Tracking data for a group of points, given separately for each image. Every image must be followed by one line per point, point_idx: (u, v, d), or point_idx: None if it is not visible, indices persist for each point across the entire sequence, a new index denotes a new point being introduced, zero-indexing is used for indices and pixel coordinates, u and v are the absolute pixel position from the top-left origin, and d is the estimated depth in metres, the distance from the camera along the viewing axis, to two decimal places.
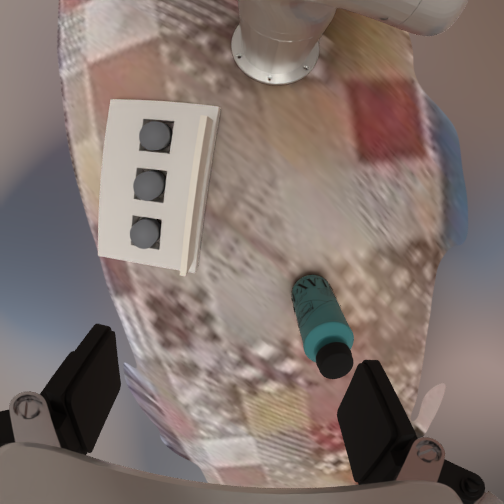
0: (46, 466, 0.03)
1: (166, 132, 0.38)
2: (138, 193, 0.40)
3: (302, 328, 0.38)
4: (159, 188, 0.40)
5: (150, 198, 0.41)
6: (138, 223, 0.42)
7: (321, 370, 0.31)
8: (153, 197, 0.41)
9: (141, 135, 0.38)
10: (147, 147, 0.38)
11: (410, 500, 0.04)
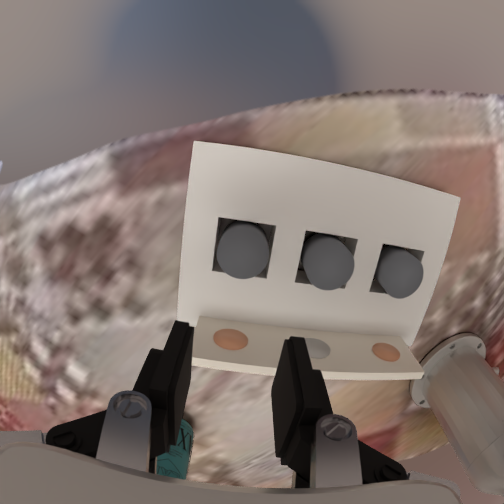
0: (46, 465, 0.03)
1: (403, 296, 0.25)
2: (320, 252, 0.24)
3: None
4: (324, 288, 0.25)
5: (309, 273, 0.24)
6: (265, 248, 0.24)
7: None
8: (310, 278, 0.25)
9: (408, 259, 0.24)
10: (390, 269, 0.24)
11: (410, 500, 0.04)
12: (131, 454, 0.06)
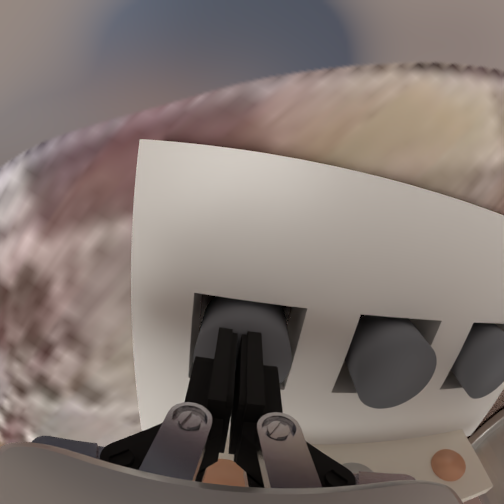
0: (45, 465, 0.03)
1: (484, 393, 0.13)
2: (386, 357, 0.12)
3: None
4: (382, 406, 0.13)
5: (362, 390, 0.12)
6: (286, 353, 0.12)
7: None
8: (363, 396, 0.12)
9: None
10: (481, 365, 0.12)
11: (410, 500, 0.04)
12: (179, 467, 0.06)
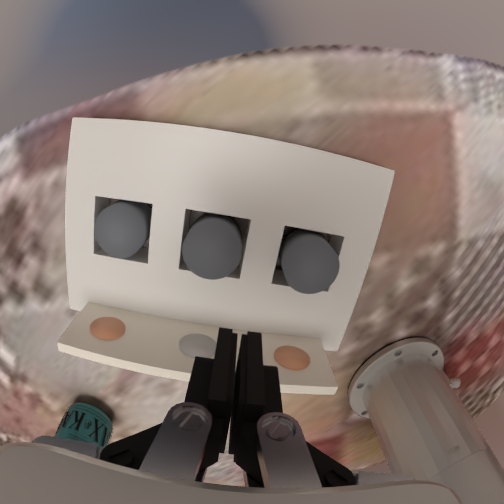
0: (46, 465, 0.03)
1: (313, 291, 0.22)
2: (197, 234, 0.20)
3: None
4: (207, 277, 0.22)
5: (187, 258, 0.21)
6: (139, 225, 0.21)
7: None
8: (189, 264, 0.21)
9: (316, 246, 0.21)
10: (290, 257, 0.21)
11: (410, 500, 0.04)
12: (179, 467, 0.06)
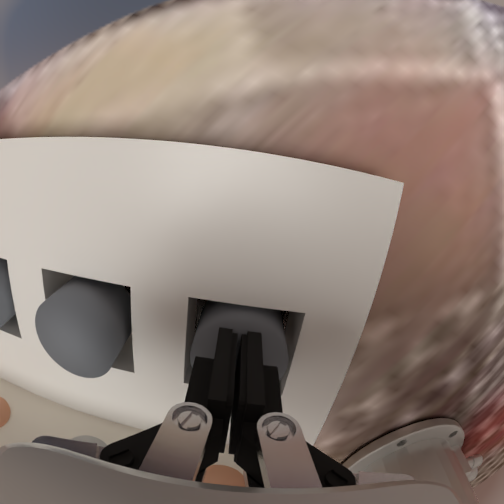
0: (46, 465, 0.03)
1: None
2: (47, 312, 0.11)
3: None
4: (77, 373, 0.12)
5: (46, 345, 0.11)
6: None
7: None
8: (51, 353, 0.11)
9: (241, 327, 0.12)
10: (198, 345, 0.12)
11: (410, 500, 0.04)
12: (179, 467, 0.06)
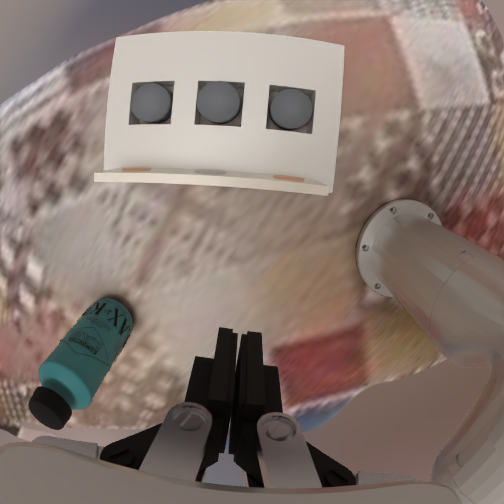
0: (46, 465, 0.03)
1: (296, 126, 0.28)
2: (207, 89, 0.26)
3: (68, 348, 0.25)
4: (215, 119, 0.27)
5: (200, 107, 0.27)
6: (165, 94, 0.27)
7: (33, 402, 0.19)
8: (202, 112, 0.27)
9: (292, 92, 0.27)
10: (275, 101, 0.27)
11: (410, 500, 0.04)
12: (179, 467, 0.06)
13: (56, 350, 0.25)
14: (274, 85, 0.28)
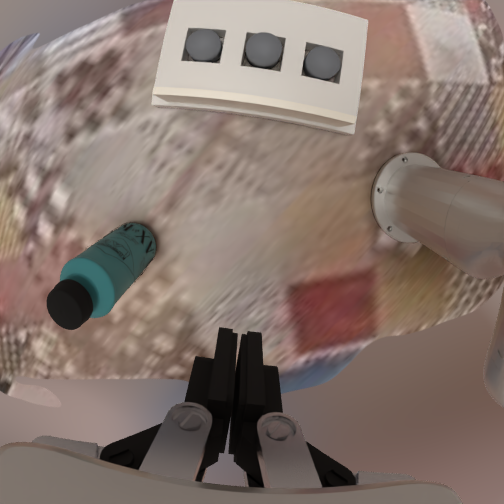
0: (46, 465, 0.03)
1: (326, 76, 0.31)
2: (255, 37, 0.28)
3: (97, 250, 0.28)
4: (261, 61, 0.29)
5: (248, 51, 0.29)
6: (218, 38, 0.29)
7: (54, 292, 0.21)
8: (249, 54, 0.29)
9: (324, 49, 0.30)
10: (310, 54, 0.30)
11: (410, 500, 0.04)
12: (179, 467, 0.06)
13: (83, 252, 0.27)
14: (309, 43, 0.30)
